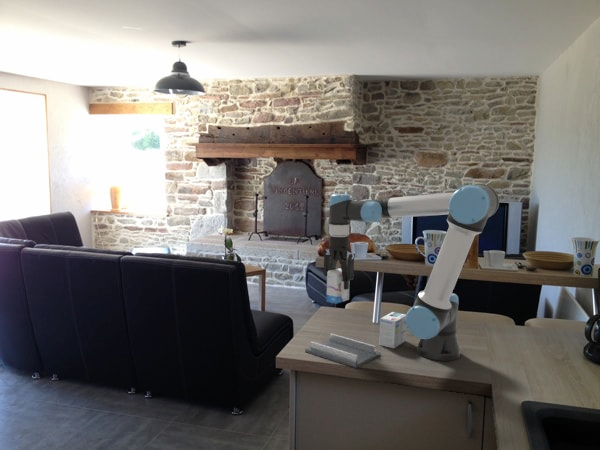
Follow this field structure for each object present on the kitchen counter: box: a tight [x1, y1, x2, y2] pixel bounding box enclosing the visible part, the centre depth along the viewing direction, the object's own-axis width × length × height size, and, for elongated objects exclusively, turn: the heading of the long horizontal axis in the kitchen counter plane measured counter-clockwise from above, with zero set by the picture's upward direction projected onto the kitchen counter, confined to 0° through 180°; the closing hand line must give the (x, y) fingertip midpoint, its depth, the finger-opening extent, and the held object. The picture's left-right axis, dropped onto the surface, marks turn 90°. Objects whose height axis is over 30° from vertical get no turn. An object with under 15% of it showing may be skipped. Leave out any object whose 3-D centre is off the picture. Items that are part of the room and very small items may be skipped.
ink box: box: [326, 267, 351, 305], centre depth 199 cm, size 9×5×12 cm, turn 141°
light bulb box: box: [378, 311, 407, 349], centre depth 202 cm, size 11×7×11 cm, turn 145°
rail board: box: [304, 333, 381, 369], centre depth 191 cm, size 22×16×4 cm
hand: (338, 296), depth 200 cm, fingers closed on ink box, 5 cm apart
